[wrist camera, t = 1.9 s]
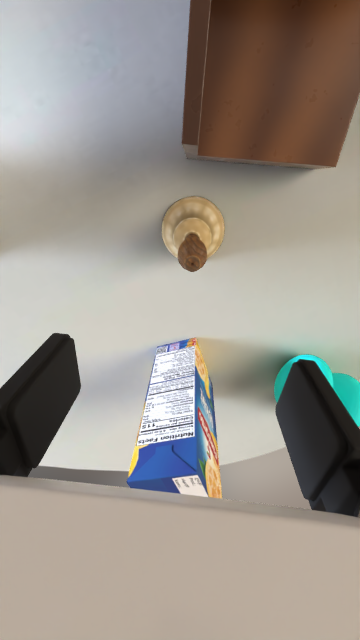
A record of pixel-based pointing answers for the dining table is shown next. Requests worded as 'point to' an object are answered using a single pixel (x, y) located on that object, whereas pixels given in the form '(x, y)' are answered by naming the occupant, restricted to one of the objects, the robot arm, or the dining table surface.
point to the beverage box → (178, 426)
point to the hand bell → (193, 231)
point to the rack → (271, 81)
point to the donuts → (348, 389)
